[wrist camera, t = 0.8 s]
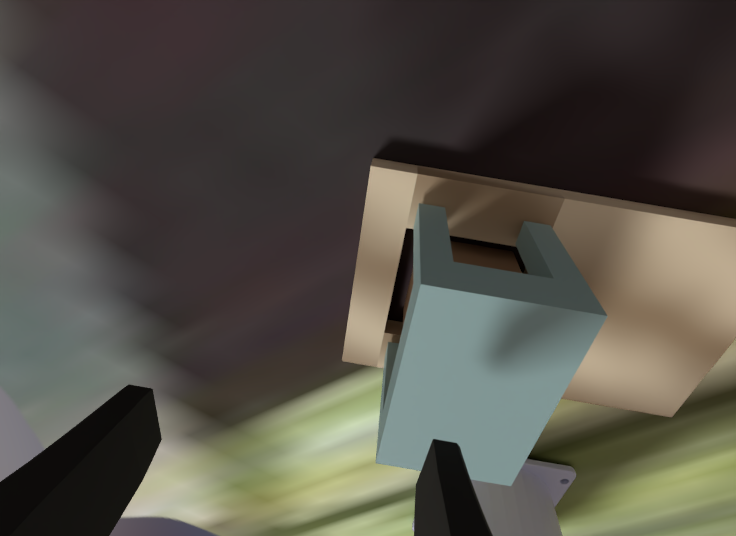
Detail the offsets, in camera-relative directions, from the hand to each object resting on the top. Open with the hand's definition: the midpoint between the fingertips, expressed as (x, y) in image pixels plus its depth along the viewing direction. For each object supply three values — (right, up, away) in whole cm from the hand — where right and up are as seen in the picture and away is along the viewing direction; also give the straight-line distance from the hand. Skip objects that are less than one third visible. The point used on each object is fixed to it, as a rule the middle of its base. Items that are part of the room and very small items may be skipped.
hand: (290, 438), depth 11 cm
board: (+10, +3, +8) cm, 13 cm away
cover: (+6, +3, +7) cm, 10 cm away
